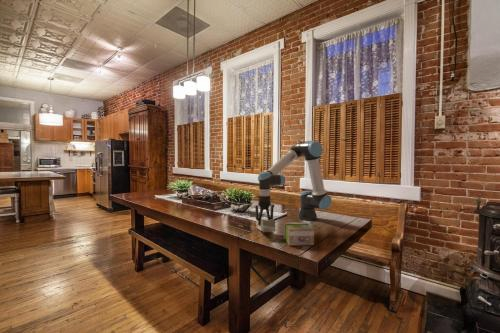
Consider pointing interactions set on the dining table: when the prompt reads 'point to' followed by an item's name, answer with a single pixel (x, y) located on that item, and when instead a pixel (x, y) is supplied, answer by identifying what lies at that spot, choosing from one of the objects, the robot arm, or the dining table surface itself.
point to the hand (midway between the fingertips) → (264, 230)
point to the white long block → (267, 225)
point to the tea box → (298, 234)
